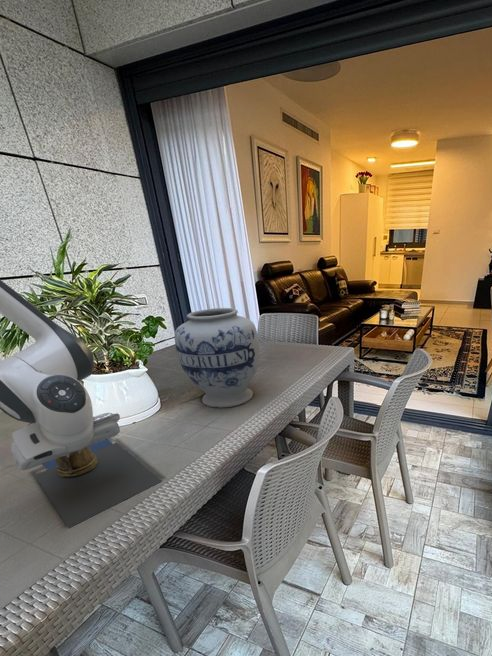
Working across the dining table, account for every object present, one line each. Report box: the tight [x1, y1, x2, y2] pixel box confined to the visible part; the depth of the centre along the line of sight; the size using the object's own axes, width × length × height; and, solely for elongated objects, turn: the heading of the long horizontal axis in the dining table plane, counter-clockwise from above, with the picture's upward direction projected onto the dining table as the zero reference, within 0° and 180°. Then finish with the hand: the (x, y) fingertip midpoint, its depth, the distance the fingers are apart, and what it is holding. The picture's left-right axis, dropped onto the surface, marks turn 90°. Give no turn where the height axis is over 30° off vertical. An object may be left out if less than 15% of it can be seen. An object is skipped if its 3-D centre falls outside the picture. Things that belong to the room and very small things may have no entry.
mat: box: [43, 438, 114, 470], centre depth 100 cm, size 16×14×1 cm
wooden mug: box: [27, 423, 98, 477], centre depth 84 cm, size 9×14×18 cm, turn 14°
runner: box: [33, 442, 163, 529], centre depth 86 cm, size 20×28×1 cm
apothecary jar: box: [174, 307, 261, 409], centre depth 119 cm, size 27×27×30 cm
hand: (72, 452), depth 84 cm, fingers closed
